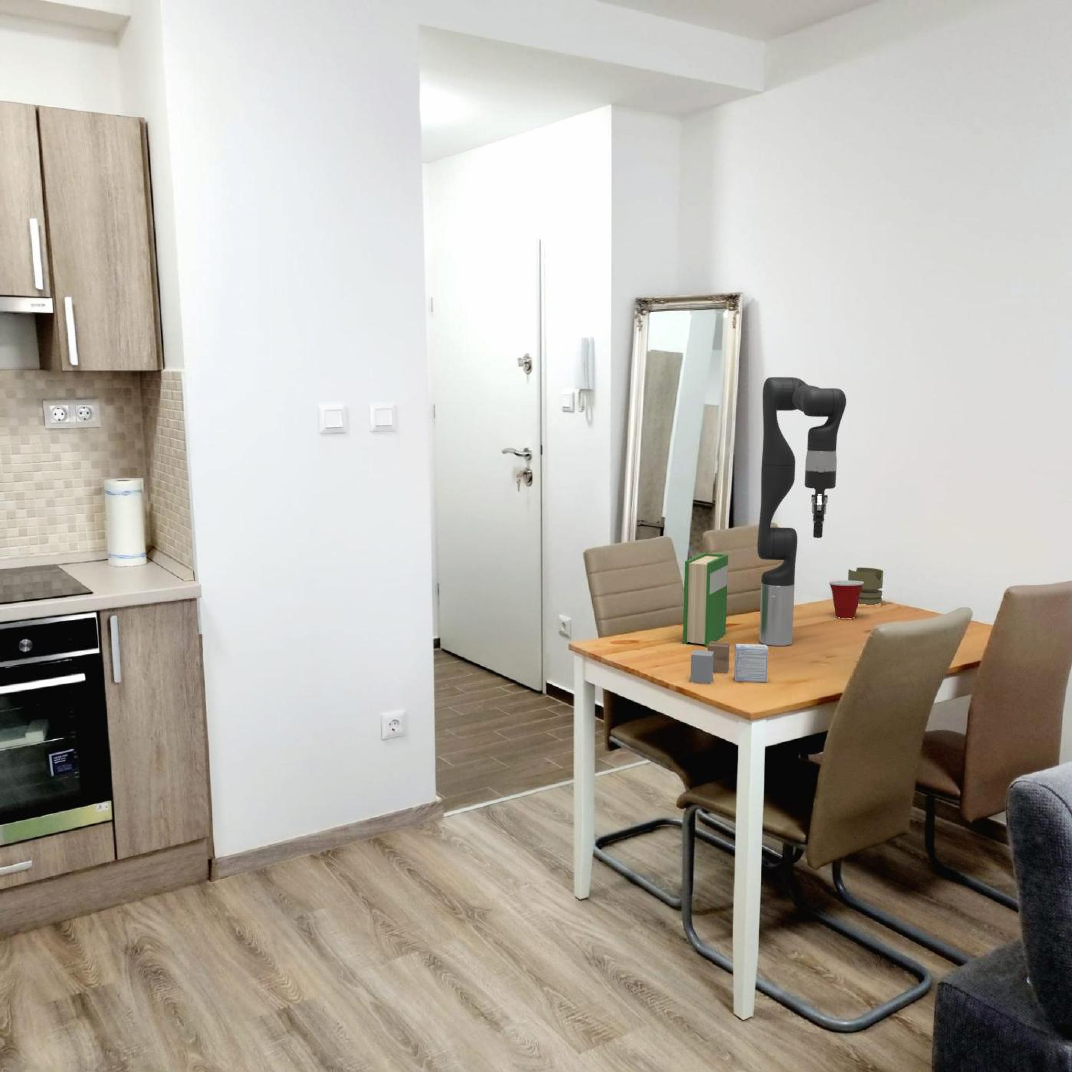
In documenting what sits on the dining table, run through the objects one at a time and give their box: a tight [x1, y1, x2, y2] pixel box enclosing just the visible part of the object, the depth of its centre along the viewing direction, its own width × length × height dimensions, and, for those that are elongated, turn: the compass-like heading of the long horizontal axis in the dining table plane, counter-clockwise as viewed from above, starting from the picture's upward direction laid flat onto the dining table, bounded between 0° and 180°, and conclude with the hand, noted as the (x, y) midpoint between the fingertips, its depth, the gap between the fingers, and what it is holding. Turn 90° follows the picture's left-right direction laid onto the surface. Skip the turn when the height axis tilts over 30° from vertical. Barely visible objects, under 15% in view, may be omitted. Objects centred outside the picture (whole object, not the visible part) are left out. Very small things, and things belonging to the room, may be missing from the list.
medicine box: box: [733, 643, 769, 683], centre depth 255 cm, size 8×4×9 cm, turn 83°
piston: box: [847, 567, 884, 605], centre depth 351 cm, size 11×12×11 cm
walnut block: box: [707, 641, 731, 675], centre depth 263 cm, size 5×5×7 cm
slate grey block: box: [689, 649, 714, 685], centre depth 254 cm, size 5×5×7 cm
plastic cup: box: [828, 580, 864, 618], centre depth 329 cm, size 11×11×12 cm
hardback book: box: [682, 552, 729, 648], centre depth 297 cm, size 18×7×24 cm, turn 154°
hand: (817, 537), depth 259 cm, fingers closed
